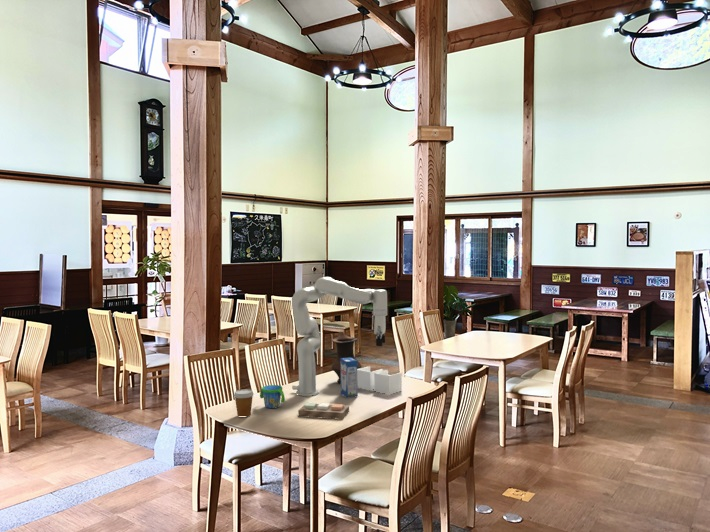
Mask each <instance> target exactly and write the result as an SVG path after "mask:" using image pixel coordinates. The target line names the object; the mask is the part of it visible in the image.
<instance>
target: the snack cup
mask: <svg viewBox="0 0 710 532" xmlns="http://www.w3.org/2000/svg"><path fill="white" fill-rule="evenodd" d="M259 397H260V399H263V402H264V403H263V404H264V408H266V409H276V408H275V407H277V408H279V407H280V405H281V404H282V403H284V402H285V401H286V400H285V399H286V397H285V393H284V391H283V386H281V385H280V384H279V385H278V384H269V385H265V386H262V388H261V389H260V392H259Z"/></svg>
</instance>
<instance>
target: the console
mask: <svg viewBox="0 0 710 532" xmlns="http://www.w3.org/2000/svg"><path fill="white" fill-rule="evenodd" d="M319 404H320V403H317V407H316V408H315V409H306V408H304V405H302V406H301V407H300V408H299V409H298V411H297V414H298V417H301V416H309V417H308V418H318V417H322V419H335V418H336V419H335V420H338V419H339V420H344V419H345V418H346V416H347V415H348V412H349V413H350V406H349V405H345V404H344V409H343V410H342V411H339V410H331V407H332V406H333V405H334V404H330V408H329V409H328V410H321V409H318V405H319Z"/></svg>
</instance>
